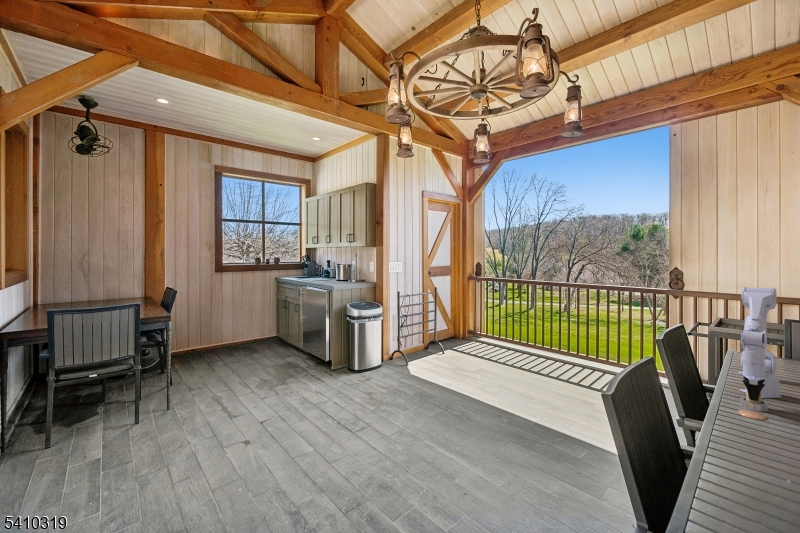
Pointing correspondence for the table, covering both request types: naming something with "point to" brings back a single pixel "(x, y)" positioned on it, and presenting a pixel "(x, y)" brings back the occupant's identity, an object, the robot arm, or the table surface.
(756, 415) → the coaster
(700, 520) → the table surface
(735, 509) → the table surface
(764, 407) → the collar
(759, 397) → the peg
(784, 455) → the table surface
